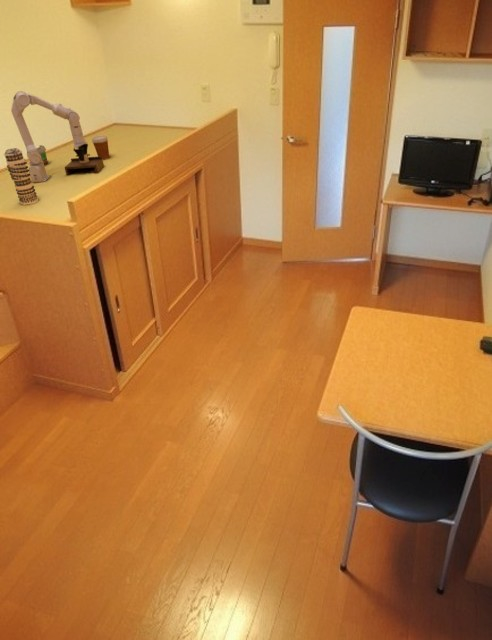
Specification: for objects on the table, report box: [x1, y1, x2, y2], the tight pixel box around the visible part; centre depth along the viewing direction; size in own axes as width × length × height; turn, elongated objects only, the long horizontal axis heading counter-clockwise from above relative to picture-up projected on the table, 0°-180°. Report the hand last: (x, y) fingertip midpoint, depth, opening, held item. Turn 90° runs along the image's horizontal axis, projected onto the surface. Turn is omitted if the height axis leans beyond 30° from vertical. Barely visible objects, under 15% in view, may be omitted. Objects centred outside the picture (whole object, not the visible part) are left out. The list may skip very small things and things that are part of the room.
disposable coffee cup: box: [91, 135, 110, 160], centre depth 293 cm, size 10×10×12 cm
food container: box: [36, 144, 49, 167], centre depth 292 cm, size 12×6×10 cm, turn 168°
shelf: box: [64, 156, 105, 176], centre depth 275 cm, size 13×18×6 cm
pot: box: [75, 151, 91, 163], centre depth 274 cm, size 5×8×5 cm
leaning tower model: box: [3, 147, 39, 206], centre depth 232 cm, size 9×9×25 cm
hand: (83, 159), depth 275 cm, fingers closed on pot, 5 cm apart
